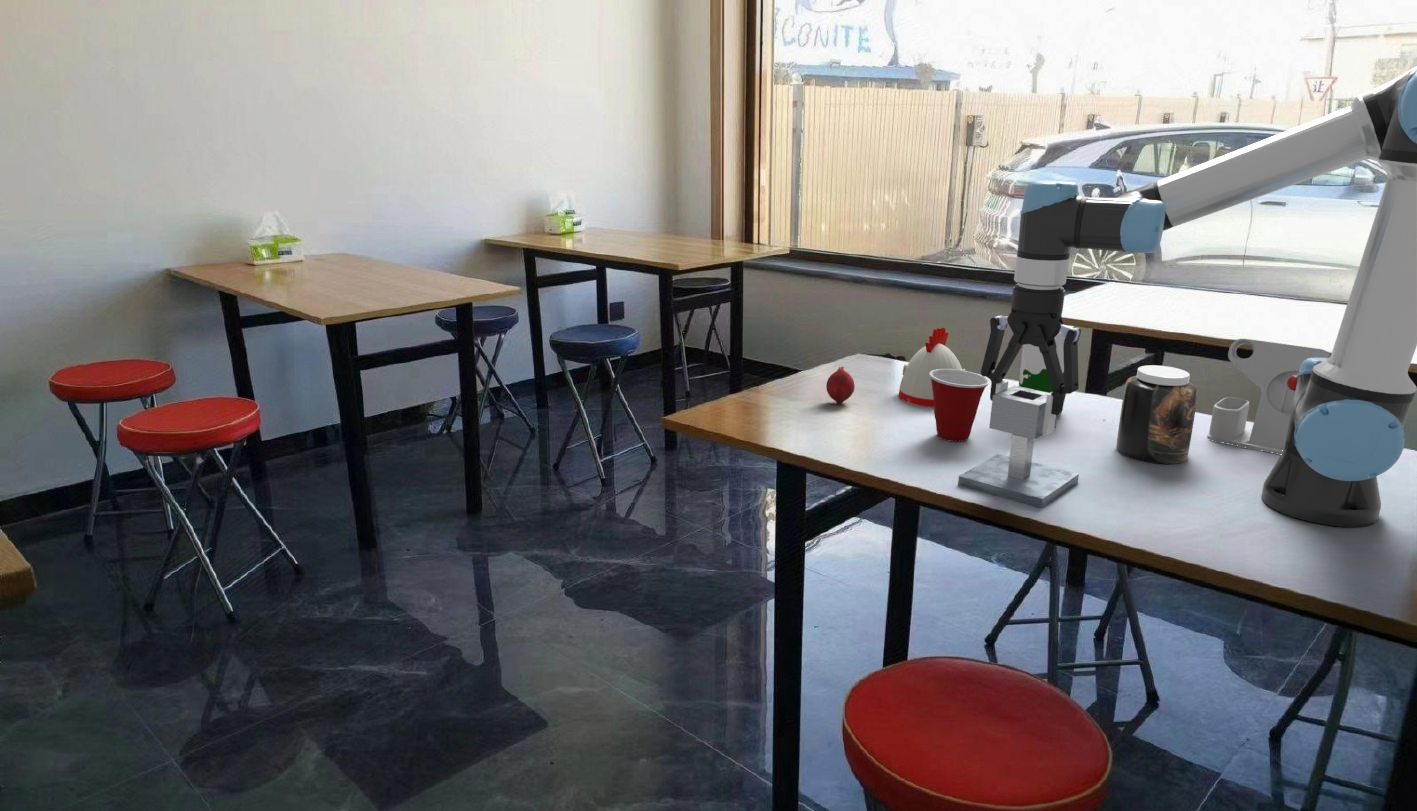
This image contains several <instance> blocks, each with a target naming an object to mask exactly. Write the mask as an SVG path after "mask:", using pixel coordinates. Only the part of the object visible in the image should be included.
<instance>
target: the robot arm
mask: <svg viewBox="0 0 1417 811" xmlns="http://www.w3.org/2000/svg"><path fill="white" fill-rule="evenodd" d="M1365 160H1371V161H1374V162H1377V163H1378V164H1379V165H1380V166H1381V167H1382V169H1383V171H1385V173H1386V177H1387V179H1386V182H1385V183H1384V184H1385V185H1384V188H1383V191H1382V195H1381V197H1380V200H1379V204H1378V207H1377V210H1376V213H1375V216H1374V219H1373V222H1372V226H1371V229H1370V231H1369V235H1368V238H1367V241H1366V244H1365V247H1364V249H1363V250H1364V251H1363V253H1362V257H1361V260H1360V263H1359V267H1358V269H1357V273H1356V276H1355V279H1354V282H1353V285H1352V288H1351V291H1350V294H1349V299H1348V301H1347V303H1346V307H1345V310H1344V314H1343V317H1342V319H1341V323H1340V327H1339V329H1338V333H1337V335H1336V339H1335V342H1334V345H1333V348H1332V351H1331V354H1330V355H1331V357H1330V358H1308V359H1306V360H1304V361H1303V362H1302V364H1301V367H1300V371H1299V373H1298V374H1297V375H1296V378H1297V382H1296V387H1295V390H1294V391H1295V396H1294V401H1293V406H1292V411H1291V417H1290V422H1289V427H1288V432H1287V437H1286V442H1285V447H1284V451H1283V453H1282V455H1280V457H1279V458H1278V460H1277V461H1276V463H1275V464H1274V466H1273V468H1272V469H1271V470H1270V473H1269V474H1268V476H1267V477H1266V479H1265V481H1264V483H1263V485H1262V492H1261V499H1262V501H1263V502H1264V504H1266V505H1267V506H1269V507H1270V508H1272V509H1273V510H1275V511H1278V512H1280V513H1281V514H1284V515H1287V516H1290V517H1292V518H1296V519H1299V520H1301V521H1305V522H1310V523H1315V524H1320V525H1327V526H1332V527H1333V526H1334V527H1346V528H1347V527H1348V528H1349V527H1350V528H1351V527H1352V528H1353V527H1355V528H1358V527H1365V526H1369V525H1370V526H1371V525H1373V524H1374V523H1376V522H1378V521H1379V516H1380V513H1381V509H1382V502H1381V500H1382V499H1381V497H1380V495H1381V494H1380V490H1379V484H1378V476H1381V475H1382V474H1384V473H1385V472H1387V471H1388V470H1390V469H1391V468H1392V467H1393V466H1395V464H1396V463H1397V462H1398V460H1399V459H1400V458H1401V455H1402V453H1403V450H1404V448H1405V444H1406V443H1405V442H1406V441H1405V439H1406V434H1405V429H1404V426H1405V423H1406V420H1407V417H1408V415H1409V412H1410V409H1411V407H1412V404H1413V401H1414V398H1415V395H1416V391H1417V386H1416V384H1415V383H1414V381H1413V380H1412V379H1411V378H1410V376H1409V373H1408V372H1409V369H1410V367H1411V362H1412V360H1413V357H1414V355H1415V352H1416V349H1417V65H1416V66H1415V67H1413V68H1411V69H1410V70H1408V71H1407V72H1405V73H1403V74H1402V75H1399V76H1398V77H1396V78H1394V79H1392V80H1390V81H1388V82H1386V83H1384V84H1382V85H1380V86H1377V87H1376V88H1374V89H1371V90H1369V91H1366V92H1363V93H1361V94H1358V95H1356V97H1355V98H1354V100H1353V101H1352V102H1351V104H1350V105H1349V106H1348V107H1345V108H1342V109H1340V110H1337V111H1335V112H1332V113H1329V114H1326V115H1324V116H1322V117H1320V118H1317V119H1314V120H1312V121H1309V122H1306V123H1304V124H1303V123H1302V124H1301V125H1299V126H1295V127H1293V128H1290V129H1288V130H1286V131H1282V132H1280V133H1278V134H1275V135H1272V136H1270V137H1267V138H1264V139H1262V140H1260V141H1257V142H1254V143H1251V144H1250V145H1247V146H1244V147H1242V148H1238V149H1236V150H1233V151H1231V152H1228V153H1226V154H1224V155H1220V156H1218V157H1215V158H1212V159H1211V160H1208V161H1205V162H1203V163H1200V164H1198V165H1195V166H1192V167H1189V168H1188V169H1185V170H1182V171H1180V172H1176V173H1174V174H1171V175H1169V176H1166V177H1164V178H1161V179H1158V180H1157V181H1154V182H1151V183H1148V184H1145V185H1143V186H1141V187H1138V188H1135V189H1133V190H1128V191H1124V192H1123V193H1120V194H1118V195H1116V196H1115V197H1091V196H1085V195H1079V194H1080V193H1079V190H1078V189H1079V186H1078V184H1077V183H1076V182H1073V181H1065V180H1034V181H1030V182H1029V183H1028V184H1027V185H1026V187H1025V189H1024V195H1023V202H1022V206H1021V210H1020V222H1019V234H1018V242H1017V243H1018V244H1017V250H1016V261H1015V269H1014V276H1013V280H1014V282H1015V283H1016V284H1014V286H1013V287H1012V295H1011V296H1012V297H1011V305H1010V306H1011V307H1010V313H1009V314H1008V315H1007V316H1003V315H997V316H994V317H990V320H989V324H990V325H989V326H990V335H989V338H988V343H987V345H986V349H985V354H984V357H983V360H982V361H983V362H982V366H981V369H980V375H981V376H984V377H986V378H987V379H988V380H989V381H990V383H991V385H990V393H989V399H990V401H991V402H992V399H993V395H994V394H996V393H999V392H1001V391H1003V390H1005V389H1008V388H1009V380H1005V379H1006V378H1007V376H1006V375H1007V373H1008V371H1009V370H1010V368H1011V366H1012V364H1014V363H1013V362H1014V361H1015V359H1016V357H1017V355H1018V353H1019V352H1020V351H1021V348H1023V345H1024V344H1031V345H1033V346H1036V347H1039V350H1040V352H1041V353H1042V355H1043V359H1044V363H1045V366H1046V370H1047V374H1048V377H1049V381H1050V385H1051V388H1052V392H1051V393H1049V394H1047V399H1046V408H1045V415H1044V423H1043V431H1042V434H1043V435H1042V436H1049V435H1050V434H1052V433H1053V432H1055V428H1056V427H1055V419H1056V415H1058V414H1060V413H1061V412H1063V409H1064V404H1063V403H1065V400H1064V396H1065V394H1066V395H1070V394H1072V393H1074V392H1076V391H1078V390H1079V385H1080V384H1079V351H1078V350H1079V347H1078V345H1079V344H1078V342H1079V340H1080V337H1081V334H1082V329H1081V328H1080V327H1079V326H1078V327H1074V328H1072V327H1069V326H1070V325H1067V326H1066V324H1064V321H1063V318H1062V314H1063V310H1064V309H1063V308H1064V304H1065V303H1064V302H1065V295H1066V290H1065V289H1064V287H1063V286H1064V285H1066V283H1067V276H1068V270H1069V262H1070V252H1071V248H1072V249H1079V250H1080V249H1084V250H1086V249H1087V250H1098V251H1109V252H1111V251H1112V252H1119V253H1120V252H1121V253H1127V254H1131V255H1133V254H1152V253H1155V252H1156V251H1157V250H1158V249H1159V247H1160V244H1161V242H1162V237H1163V233H1164V232H1165V231H1168V230H1170V229H1172V228H1174V227H1177V226H1180V225H1183V224H1187V223H1189V222H1192V221H1195V220H1198V219H1200V218H1203V217H1206V216H1208V215H1211V214H1215V213H1218V212H1221V211H1223V210H1226V209H1229V208H1231V207H1234V206H1237V205H1240V204H1243V203H1247V202H1249V201H1251V200H1254V199H1257V198H1259V197H1262V196H1266V195H1268V194H1272V193H1274V192H1277V191H1280V190H1283V189H1286V188H1288V187H1291V186H1294V185H1297V184H1300V183H1303V182H1305V181H1308V180H1311V179H1314V178H1317V177H1319V176H1323V175H1325V174H1328V173H1331V172H1334V171H1337V170H1340V169H1344V168H1345V167H1348V166H1350V165H1351V166H1352V165H1354V164H1356V163H1360V162H1362V161H1365ZM1008 326H1009V327H1010V329H1011V331H1012V333H1013V334H1012V336H1011V338H1010V340H1009V341H1008V345H1007V347H1006V349H1005V351H1004V352H1003V354H1002V356H1001V358H1000V360H999V362H998V364H997V361H998V359H999V355H1000V351H1001V347H1002V343H1003V340H1004V336H1005V331H1006V329H1007V328H1008ZM1059 332H1061V333H1062V339H1063V340H1064V345H1063V353H1064V377H1063V373H1062V370H1061V366H1060V362H1059V359H1058V355H1057V351H1056V348H1057V346H1056V342H1055V339H1054V337H1055V336H1056V335H1057V334H1058V333H1059ZM1065 397H1066V396H1065ZM1061 414H1062V413H1061ZM1061 414H1060V415H1061ZM1054 427H1055V428H1054Z"/></svg>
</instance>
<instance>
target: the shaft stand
mask: <svg viewBox="0 0 1417 811" xmlns="http://www.w3.org/2000/svg"><path fill="white" fill-rule="evenodd" d="M1034 442H1035V439H1031V438H1027V437H1023V436H1019V435H1015V434H1011V440H1010V450H1009V456H1008V455H1006V454H1001V453H1000V454H999V453H997V454H995V455H993V456H992V457H990V458H989V459H987V460H985V461H983V462H981V463H980V464H978V465H976V466H974V467H971V469H969V470H967V471H965V472H963V473H961V474H960V475H958V482H957V485H958V486H962V487H965V488H968V489H972V490H976V491H980V492H983V493H986V494H990V495H995V496H998V497H1002V498H1004V499H1008V500H1011V501H1015V502H1018V503H1019V502H1020V503H1023V504H1026V505H1030V506H1032V507H1033V506H1034V507H1036V508H1040V509H1043V508H1044V507H1045V506H1046V505H1048V504H1050V503H1051V502H1052V501H1054V500H1055V499H1057V498H1058V497H1059V496H1061V495H1062V494H1064V493H1066V491H1068V490H1069V489H1072V487H1074V486H1075V485H1076V484H1078V482H1079V476H1080V474H1079V473H1075V472H1072V471H1068V470H1065V469H1060V468H1056V467H1052V466H1048V465H1044V464H1040V463H1036V462H1033V461H1032V460H1033V454H1034V453H1033V451H1034V444H1035V443H1034Z"/></svg>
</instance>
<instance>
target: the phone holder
mask: <svg viewBox="0 0 1417 811" xmlns="http://www.w3.org/2000/svg"><path fill="white" fill-rule="evenodd" d="M1242 345H1248V346H1250V347H1251V348H1252V354H1251V355H1250V356H1248V357H1247V358H1242V357H1239V356H1238V355H1237V350H1238V348H1239V347H1241V346H1242ZM1227 357H1228V360H1229V361H1230V362H1231V363H1232V364H1233V365H1234V366H1235V367H1236V368H1237V369H1238V370H1239V371H1241V373H1243V374H1244V375H1245V376H1246V377H1247V378H1248V379H1249V380H1250V381H1251V382H1252V383H1253V384H1255V385H1256V386H1257V388H1259V389H1260V393H1261V394H1260V399H1259V402H1258V406H1257V410H1256V414H1255V417H1254V421H1253V425H1252V428H1246V425H1247V420H1248V414H1249V410H1250V401H1249V400H1247V399H1244V398H1242V397H1241V398H1240V397H1234V396H1233V397H1232V396H1230V397H1229V396H1228V397H1227V396H1226V397H1223V398H1222V399H1220V401H1218V402H1216V403H1215V404H1214V405H1213V409H1212V414H1211V420H1210V426H1209V431H1208V433H1207V436H1206V439H1207V438H1208V439H1210V440H1209V441H1211V440H1213V441H1212V442H1215V441H1216V442H1215V443H1220V442H1224V443H1223V444H1225V443H1229V444H1233V445H1232V446H1234V445H1236V446H1235V447H1239V446H1241V447H1240V448H1244V447H1246V448H1245V449H1248V448H1250V449H1249V450H1253V449H1255V450H1254V451H1258V450H1263V451H1268V452H1273V453H1278V454H1282V453H1283V451H1284V447H1285V442H1286V437H1287V432H1288V427H1289V422H1290V417H1291V411H1292V406H1293V401H1294V396H1295V391H1296V390H1294V389H1291V388H1290V387H1289V386H1288V380H1289V379H1290V378H1291V377H1293V376H1297V374H1298V373H1299V371H1300V367H1301V364H1302V362H1303V361H1304V360H1306V359H1308V358H1330V357H1331V354H1330V353H1329V352H1328V351H1327V350H1325V349H1323V348H1315V347H1310V346H1309V347H1308V346H1303V345H1301V346H1299V345H1292V344H1285V343H1279V342H1278V343H1277V342H1272V341H1265V340H1258V339H1257V340H1256V339H1250V338H1238V339H1236V340H1234V341H1233V342H1231V345H1230V346H1229V350H1228V353H1227ZM1208 439H1207V440H1208ZM1229 444H1228V445H1229ZM1237 445H1238V446H1237ZM1282 450H1283V451H1282ZM1263 451H1262V452H1263ZM1268 452H1267V453H1268Z"/></svg>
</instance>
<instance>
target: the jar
mask: <svg viewBox="0 0 1417 811" xmlns="http://www.w3.org/2000/svg"><path fill="white" fill-rule="evenodd" d="M1190 377H1191V375H1190V372H1188V371H1186V370H1184V369H1181V368H1177V367H1174V366H1167V365H1155V364H1152V365H1151V364H1150V365H1142V366H1139V367H1138V368H1137V373H1136V375H1134V376H1131V377H1129V378H1127V380H1126V382H1125V385H1124V389H1123V397H1122V402H1121V410H1120V415H1119V416H1120V417H1119V423H1118V430H1117V438H1116V449H1117V451H1118V452H1119V453H1120V454H1122V455H1124V456H1126V457H1128V458H1131V459H1134V460H1137V461H1140V462H1145V463H1151V464H1158V465H1159V464H1160V465H1161V464H1162V465H1174V464H1180V463H1184V462H1186V461H1187V459H1188V457H1189V452H1190V446H1191V441H1192V440H1191V439H1192V434H1193V428H1194V423H1195V415H1196V409H1197V408H1196V407H1197V402H1198V401H1197V400H1198V388H1197V386H1196V385H1195V384H1193V383H1192V382H1190Z"/></svg>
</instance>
